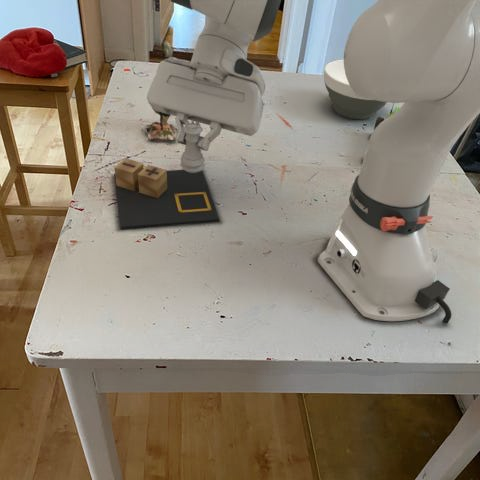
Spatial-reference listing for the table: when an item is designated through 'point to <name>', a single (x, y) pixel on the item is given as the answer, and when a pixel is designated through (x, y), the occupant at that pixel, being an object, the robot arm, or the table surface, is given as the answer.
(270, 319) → the table surface
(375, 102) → the bowl
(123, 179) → the plus minus wooden blocks
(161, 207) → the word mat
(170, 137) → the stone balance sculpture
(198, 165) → the rook chess piece
